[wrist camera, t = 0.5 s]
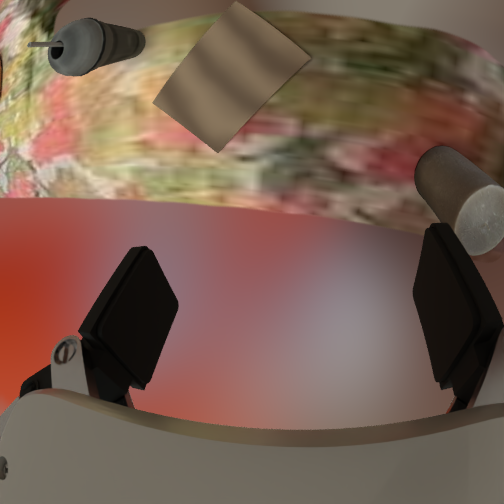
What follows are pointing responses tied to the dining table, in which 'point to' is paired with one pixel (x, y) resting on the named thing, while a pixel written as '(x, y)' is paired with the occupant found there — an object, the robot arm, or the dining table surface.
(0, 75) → the bread
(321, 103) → the dining table surface
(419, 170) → the pillar candle
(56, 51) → the beverage cup
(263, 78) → the walnut board
